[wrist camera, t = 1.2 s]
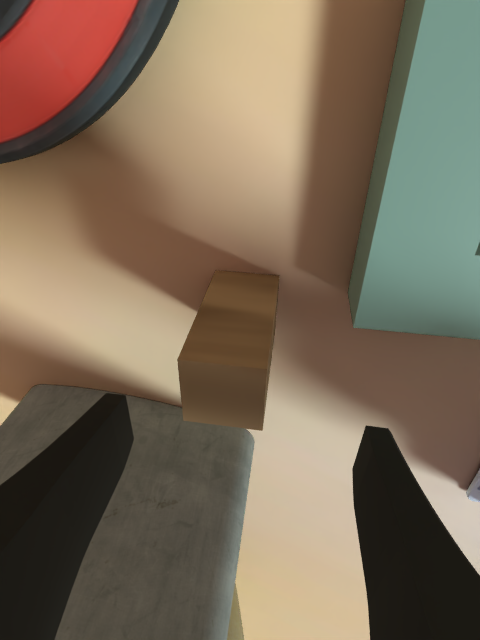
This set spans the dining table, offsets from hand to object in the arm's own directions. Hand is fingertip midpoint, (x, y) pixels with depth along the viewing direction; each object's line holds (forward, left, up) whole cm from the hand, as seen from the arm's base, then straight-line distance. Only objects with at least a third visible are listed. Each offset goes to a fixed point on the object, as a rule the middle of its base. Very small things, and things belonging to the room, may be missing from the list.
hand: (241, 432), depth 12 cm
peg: (-1, +1, -10) cm, 10 cm away
